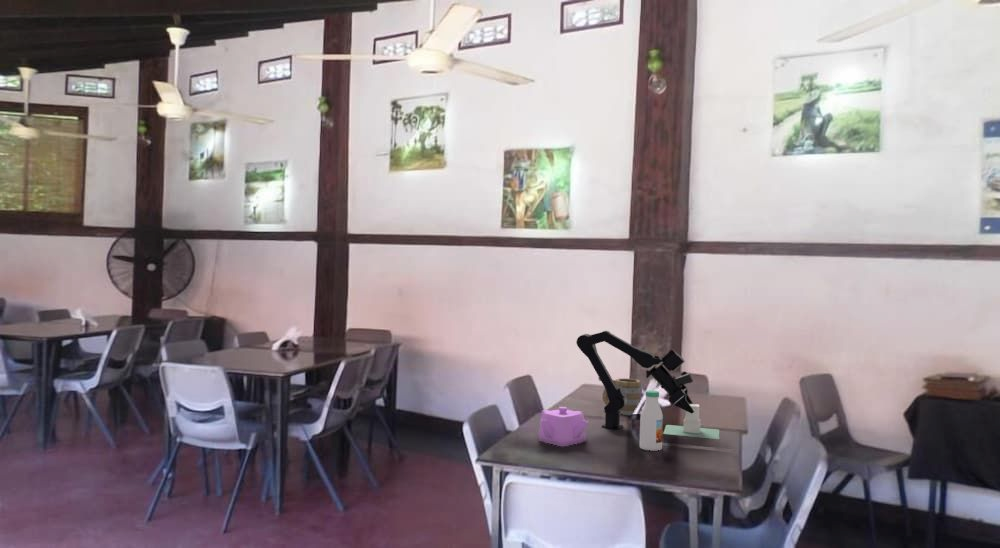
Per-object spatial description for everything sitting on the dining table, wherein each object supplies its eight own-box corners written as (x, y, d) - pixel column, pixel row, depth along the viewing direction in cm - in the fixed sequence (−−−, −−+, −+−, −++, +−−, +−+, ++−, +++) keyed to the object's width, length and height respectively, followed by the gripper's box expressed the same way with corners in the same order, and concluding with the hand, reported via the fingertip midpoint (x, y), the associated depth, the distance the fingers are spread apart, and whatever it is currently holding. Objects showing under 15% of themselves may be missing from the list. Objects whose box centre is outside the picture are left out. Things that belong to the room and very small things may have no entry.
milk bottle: (649, 452, 236) (650, 394, 236) (634, 446, 243) (636, 390, 243) (666, 450, 240) (668, 392, 240) (652, 444, 247) (653, 388, 246)
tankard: (646, 411, 304) (647, 377, 303) (635, 416, 293) (636, 381, 293) (604, 405, 314) (605, 372, 314) (592, 410, 304) (593, 376, 303)
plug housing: (683, 431, 262) (684, 405, 262) (683, 429, 266) (684, 403, 266) (699, 433, 260) (700, 406, 260) (700, 430, 264) (700, 404, 264)
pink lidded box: (582, 436, 257) (583, 403, 257) (588, 448, 240) (589, 412, 240) (536, 435, 257) (537, 402, 256) (539, 447, 240) (540, 411, 239)
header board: (662, 436, 259) (663, 427, 259) (666, 427, 274) (666, 418, 274) (719, 442, 252) (719, 432, 252) (719, 432, 268) (719, 423, 268)
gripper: (679, 368, 255) (709, 401, 252) (682, 362, 273) (710, 392, 270) (656, 388, 258) (686, 420, 255) (660, 380, 276) (688, 410, 272)
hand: (693, 410), depth 263 cm, fingers open, 9 cm apart
